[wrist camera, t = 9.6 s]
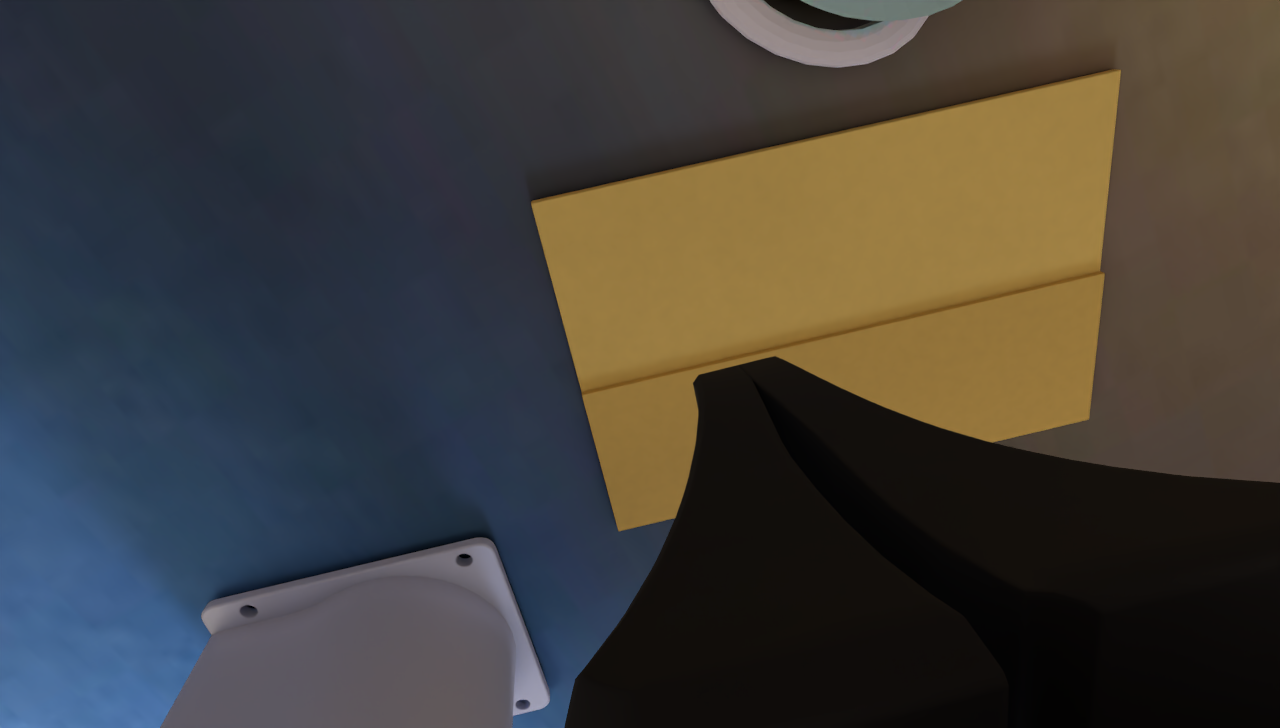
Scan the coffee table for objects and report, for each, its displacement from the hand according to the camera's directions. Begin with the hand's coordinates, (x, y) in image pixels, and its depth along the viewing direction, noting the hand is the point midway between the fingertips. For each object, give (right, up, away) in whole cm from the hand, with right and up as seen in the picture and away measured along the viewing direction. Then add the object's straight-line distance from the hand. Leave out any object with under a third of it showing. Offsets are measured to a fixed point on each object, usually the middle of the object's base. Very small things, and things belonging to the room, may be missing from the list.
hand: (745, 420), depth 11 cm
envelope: (+4, +2, +10) cm, 11 cm away
